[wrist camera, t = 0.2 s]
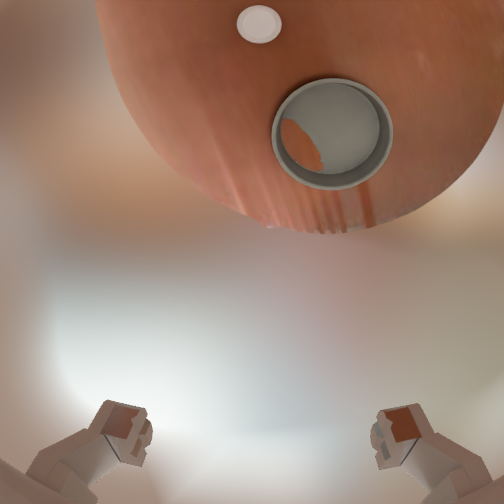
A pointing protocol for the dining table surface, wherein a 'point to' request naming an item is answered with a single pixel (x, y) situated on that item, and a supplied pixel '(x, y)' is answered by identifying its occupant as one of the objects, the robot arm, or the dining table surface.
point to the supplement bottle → (259, 24)
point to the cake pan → (336, 132)
